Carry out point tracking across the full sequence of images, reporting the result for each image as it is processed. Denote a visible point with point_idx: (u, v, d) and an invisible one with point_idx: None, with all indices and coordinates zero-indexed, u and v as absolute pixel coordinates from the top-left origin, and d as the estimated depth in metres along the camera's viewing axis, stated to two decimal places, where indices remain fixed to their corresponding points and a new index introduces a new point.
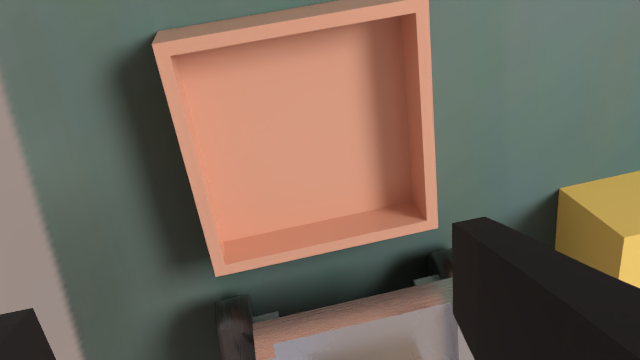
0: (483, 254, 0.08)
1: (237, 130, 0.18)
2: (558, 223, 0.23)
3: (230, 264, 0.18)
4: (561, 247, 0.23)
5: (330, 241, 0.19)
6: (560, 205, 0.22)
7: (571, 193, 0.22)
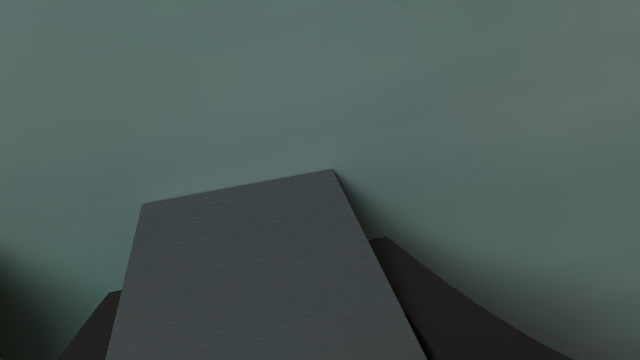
0: None
1: None
2: None
3: None
4: None
5: None
6: None
7: None
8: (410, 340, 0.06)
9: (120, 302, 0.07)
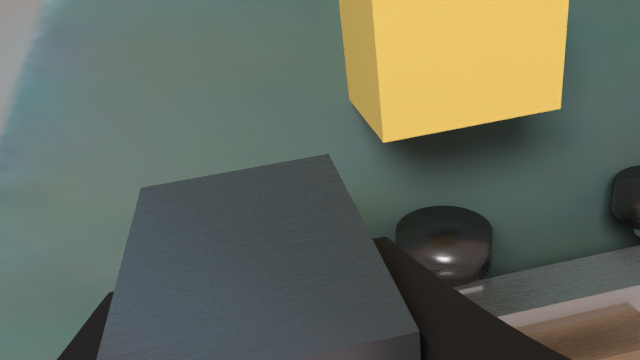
0: None
1: None
2: None
3: None
4: None
5: None
6: None
7: (352, 99, 0.17)
8: (402, 311, 0.06)
9: (118, 278, 0.07)
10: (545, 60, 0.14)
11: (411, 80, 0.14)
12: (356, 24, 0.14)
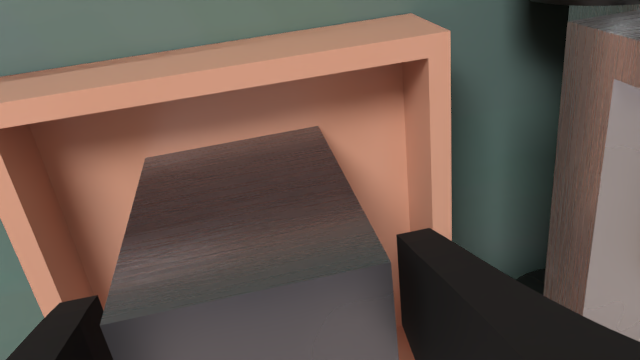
0: (421, 267, 0.08)
1: None
2: None
3: None
4: None
5: (432, 229, 0.11)
6: None
7: None
8: (377, 248, 0.07)
9: (127, 230, 0.08)
10: None
11: None
12: None
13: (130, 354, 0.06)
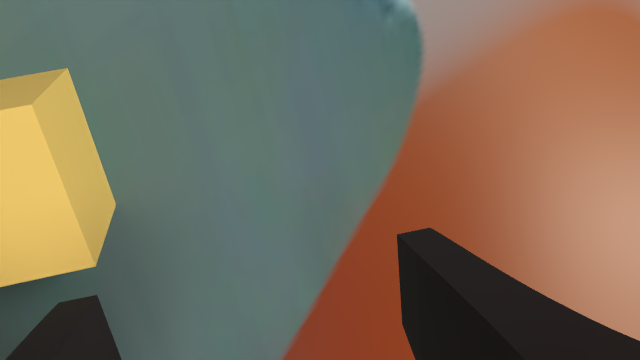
0: (421, 267, 0.08)
1: None
2: None
3: None
4: None
5: None
6: None
7: None
8: None
9: None
10: None
11: None
12: (4, 93, 0.15)
13: None
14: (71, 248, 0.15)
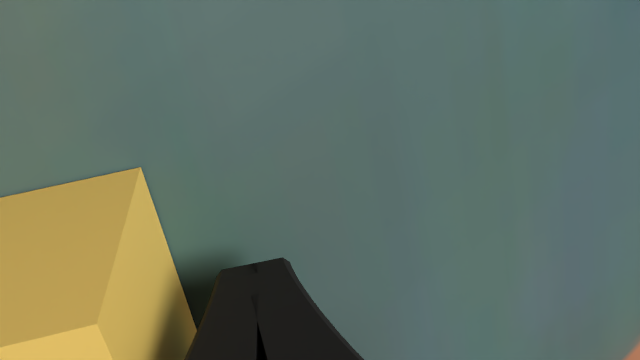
0: None
1: None
2: None
3: None
4: None
5: None
6: None
7: None
8: None
9: None
10: None
11: None
12: (25, 255, 0.07)
13: None
14: None
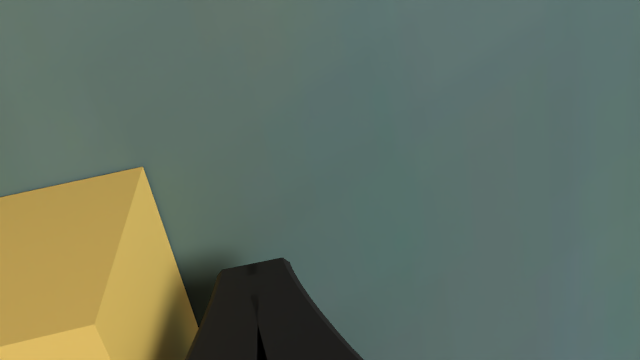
0: None
1: None
2: None
3: None
4: None
5: None
6: None
7: None
8: None
9: None
10: None
11: None
12: (26, 255, 0.07)
13: None
14: None
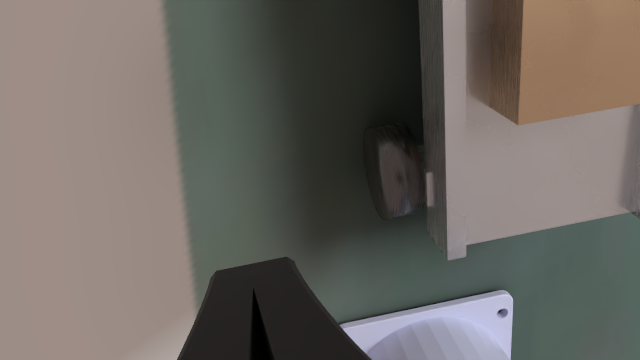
0: None
1: None
2: None
3: None
4: None
5: None
6: None
7: None
8: None
9: None
10: None
11: None
12: None
13: None
14: None
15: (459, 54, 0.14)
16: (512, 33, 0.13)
